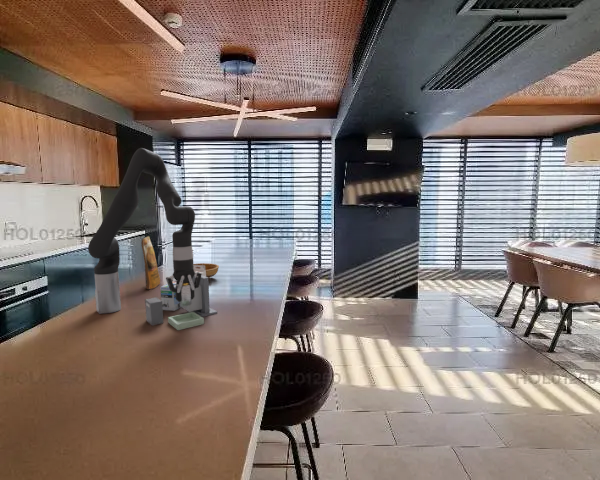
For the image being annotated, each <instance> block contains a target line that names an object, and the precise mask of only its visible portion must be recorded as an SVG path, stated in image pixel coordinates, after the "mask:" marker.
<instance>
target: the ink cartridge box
mask: <svg viewBox="0 0 600 480" xmlns="http://www.w3.org/2000/svg"><path fill="white" fill-rule="evenodd" d="M196 267H200V269H198V268H196ZM194 272H196V273H197V272H199V273H201V274H202V275H203V276H205V277H206V271H205V265H194Z"/></svg>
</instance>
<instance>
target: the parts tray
mask: <svg viewBox="0 0 600 480" xmlns="http://www.w3.org/2000/svg"><path fill="white" fill-rule="evenodd" d="M167 323H168V324H169V325H170V326H172V327H173V328H174V329H176V331H181V330H184V329H190V328H192V327H197V326H200V325H201V326H202V325H204V324H205V318H204V317H201V316H200V315H198V314H197V313H195V312H193V311H191V312H185V313H181V314H177V315H176V314H175V315H173V316H168V317H167Z"/></svg>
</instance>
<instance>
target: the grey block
mask: <svg viewBox="0 0 600 480" xmlns="http://www.w3.org/2000/svg"><path fill="white" fill-rule="evenodd" d="M144 303H145V319H146V322H147V323H148V324H149V325H151V326H156V325H160V324H164V310H163V306H162V301H161V298H160V299H159V297H151V298H150V297H149V298H146V299H144Z"/></svg>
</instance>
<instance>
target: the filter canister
mask: <svg viewBox="0 0 600 480" xmlns="http://www.w3.org/2000/svg"><path fill="white" fill-rule="evenodd" d="M180 293H181V302H180V306H189V305H191V304H192V303H191V286H190V284H189V283H184V284H182V287H181V290H180Z"/></svg>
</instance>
